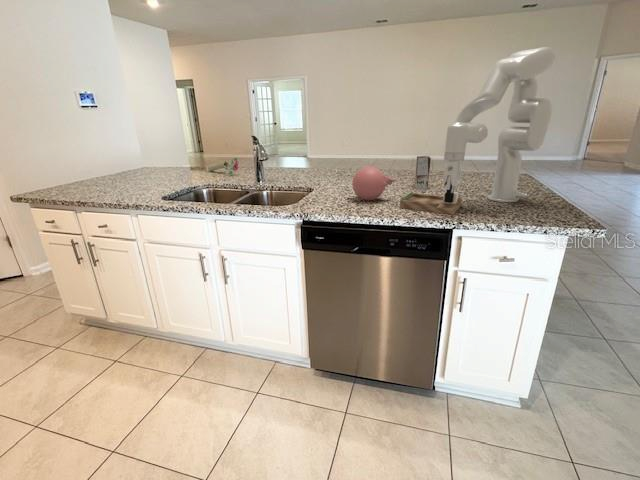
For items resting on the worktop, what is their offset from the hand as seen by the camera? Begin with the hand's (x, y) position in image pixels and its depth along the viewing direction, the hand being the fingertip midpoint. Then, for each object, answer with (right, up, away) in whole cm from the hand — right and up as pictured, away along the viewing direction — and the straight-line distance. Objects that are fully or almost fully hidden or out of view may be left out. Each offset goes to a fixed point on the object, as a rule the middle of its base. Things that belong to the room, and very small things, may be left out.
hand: (448, 202), depth 140 cm
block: (+2, 0, +4) cm, 5 cm away
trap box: (-6, -1, +5) cm, 8 cm away
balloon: (-28, +3, +19) cm, 34 cm away
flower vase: (-120, +31, +99) cm, 159 cm away
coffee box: (+1, +12, +42) cm, 44 cm away
